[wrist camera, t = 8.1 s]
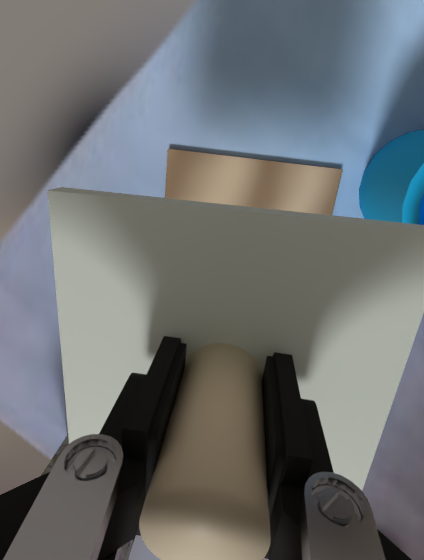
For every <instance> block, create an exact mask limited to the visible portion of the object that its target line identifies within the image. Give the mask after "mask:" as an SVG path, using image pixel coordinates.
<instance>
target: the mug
mask: <svg viewBox="0 0 424 560" xmlns="http://www.w3.org/2000/svg"><path fill="white" fill-rule="evenodd" d="M359 202H360V209H361V211H362V214H363V216H364V219H371V220H380V221H390V222H400V223H409V224H419V225H424V130H419V131H414V132H408V133H406V134H404V135H402V136H400V137H398V138H396V139H394V140H392V141H390V142H389V143H388V144H387V145H386V146H384V147H383V148H382V149H381V150H380V151H379V152H378V153H377V154H376V155H375V156H374V157H373V159H372V160H371V162H370V163H369V165H368V167H367V168H366V170H365V171H364V174H363V178H362V181H361V185H360V188H359Z"/></svg>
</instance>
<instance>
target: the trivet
mask: <svg viewBox="0 0 424 560" xmlns="http://www.w3.org/2000/svg"><path fill="white" fill-rule="evenodd" d="M342 170H343V169H335V168H327V167H318V166H310V165H302V164H293V163H285V162H276V161H268V160H260V159H251V158H243V157H234V156H226V155H217V154H209V153H201V152H192V151H184V150H175V149H168V156H167V173H166V190H165V198H170V199H179V200H189V201H198V202H208V203H218V204H227V205H237V206H246V207H256V208H265V209H275V210H285V211H294V212H304V213H313V214H323V215H332V213H333V209H334V204H335V200H336V196H337V192H338V187H339V183H340V179H341V175H342Z"/></svg>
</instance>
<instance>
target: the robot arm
mask: <svg viewBox="0 0 424 560" xmlns="http://www.w3.org/2000/svg"><path fill="white" fill-rule="evenodd" d="M186 349H187V344H185V343H181V338H176V337H169V336H164V337H163V339H162V341H161V343H160V346H159V348H158V350H157V352H156V355H155V357H154V359H153V361H152V363H151V366H150V368H149V370H148V372H147V374H140V373H131V374H130V376H129V378H128V379H127V381H126V383H125V385H124V387H123V389H122V391H121V393H120V395H119V397H118V399H117V400H116V402H115V404H114V406H113V408H112V410H111V412H110V414H109V416H108V418H107V420H106V421H105V423H104V425H103V427H102V429H101V431H100V433H99V434H90V435H86V436H82V437H80V438H78V439H76V440H74V441H72V442H71V443H70V444H69V445H67V446H66V447H65V448H64V450H63V451H62V452H61V454H60V455H59V457H58V459H57V460H56V462H55V464H54V466H53V468H52V470H51V472H48V473H46V474H44V475H42V476H40V477H38V478H36V479H34V480H31V481H29V482H27V483H25V484H23V485H21V486H19V487H16V488H14V489H12V490H10V491H8V492H6V493H4V494H1V495H0V560H119V556H120V553H121V547H122V546H123V545H125V544H126V543H128V542H129V541H131V540H132V539H134V538H135V536H136V535H140V536H141V533H140V529H139V520H140V516H141V512H142V509H143V505H144V502H145V499H146V495H147V492H148V489H149V485H150V482H151V478H152V475H153V473H154V471H155V468H156V464H157V461H158V458H159V454H160V451H161V447H162V444H163V441H164V437H165V434H166V430H167V427H168V423H169V420H170V417H171V413H172V410H173V406H174V403H175V400H176V396H177V393H178V389H179V386H180V382H181V379H182V376H183V372H184V369H185V360H186ZM262 390H263V409H264V429H265V449H266V468H267V488H268V498H269V517H270V536H271V541H270V547H269V550H268V552H267V554H266V556H265V557H264V558H267V559H269V560H411V559H410V558H409V557H408V556H407V555H406V554H405V553H403V552H402V551H401V550H400V549H399V548H398V547H397V546H395V545H394V544H393V543H392V542H391V541H390V540H389V539H388V538H386V537H385V536H384V535H383V534H382V533H381V532H380V531H379V530H377V527H376V523H375V520H374V516H373V512H372V509H371V506H370V504H369V501H368V499H367V497H366V496H365V495H364V493H363V492H362V491H361V489H360V488H359V487H357V486H356V485H355V484H354V483H353V482H352V481H350V480H349V479H347V478H345V477H343V476H342V475H339V474H336V473H334V472H333V468H332V464H331V460H330V456H329V452H328V448H327V444H326V440H325V437H324V433H323V429H322V425H321V421H320V417H319V413H318V409H317V406H316V403H315V401H314V400H307V399H301V397H300V392H299V387H298V382H297V377H296V372H295V367H294V362H293V357H292V355H290V354H283V353H277V352H274V354H273V356H267V358H266V362H265V367H264V372H263V378H262Z"/></svg>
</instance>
